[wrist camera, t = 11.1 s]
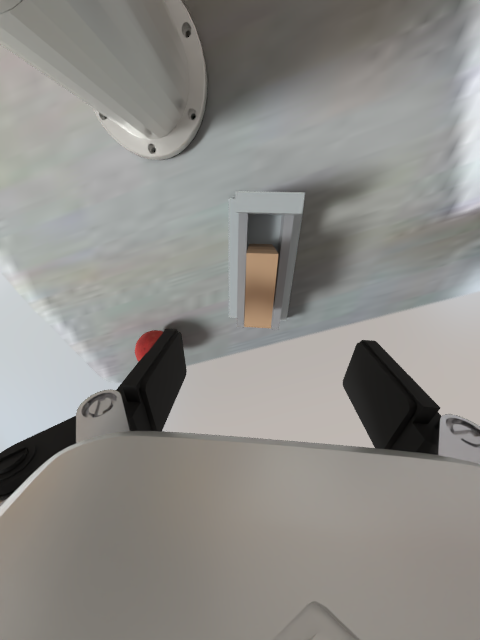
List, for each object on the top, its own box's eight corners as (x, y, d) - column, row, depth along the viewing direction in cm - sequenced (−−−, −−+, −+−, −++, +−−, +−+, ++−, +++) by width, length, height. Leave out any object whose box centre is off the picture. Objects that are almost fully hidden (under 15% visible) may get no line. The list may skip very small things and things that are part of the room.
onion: (185, 329, 34) (166, 359, 26) (177, 354, 36) (157, 386, 29) (152, 317, 33) (124, 344, 26) (146, 342, 35) (119, 373, 28)
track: (229, 199, 24) (218, 190, 17) (303, 200, 24) (322, 192, 17) (229, 314, 32) (221, 342, 24) (285, 317, 31) (294, 346, 24)
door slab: (249, 243, 25) (246, 252, 18) (272, 244, 25) (278, 253, 18) (247, 300, 29) (244, 326, 22) (267, 301, 29) (270, 328, 22)
